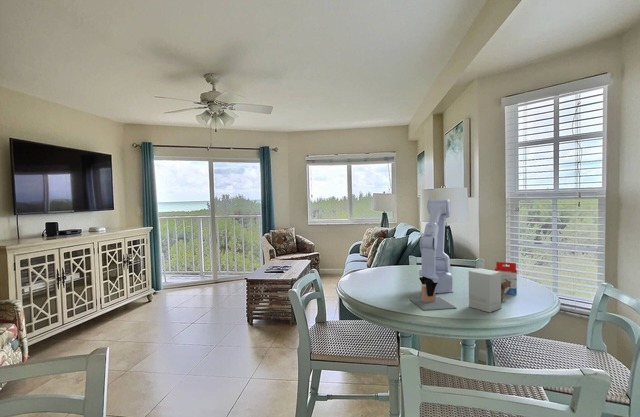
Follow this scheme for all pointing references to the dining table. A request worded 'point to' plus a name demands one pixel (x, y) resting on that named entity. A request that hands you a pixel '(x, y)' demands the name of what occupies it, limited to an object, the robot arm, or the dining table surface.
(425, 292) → the slab
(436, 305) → the mat
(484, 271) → the supplement box
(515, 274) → the ink box
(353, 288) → the dining table surface
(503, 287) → the dinosaur figurine
